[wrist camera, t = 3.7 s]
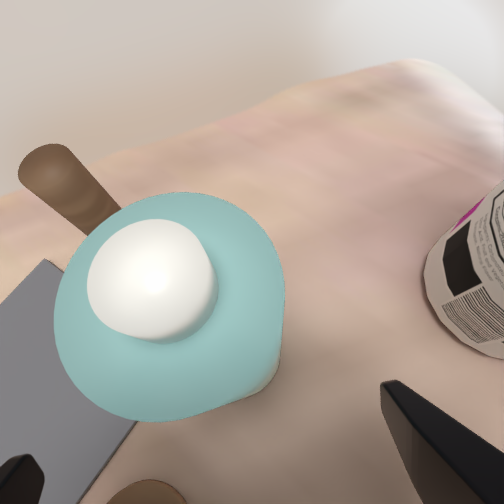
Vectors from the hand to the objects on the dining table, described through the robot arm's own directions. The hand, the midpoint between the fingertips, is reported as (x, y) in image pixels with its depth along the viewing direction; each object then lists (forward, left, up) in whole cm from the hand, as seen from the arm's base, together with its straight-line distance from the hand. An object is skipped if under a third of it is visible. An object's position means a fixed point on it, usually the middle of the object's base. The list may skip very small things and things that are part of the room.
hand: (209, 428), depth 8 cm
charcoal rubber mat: (-6, +11, -10) cm, 16 cm away
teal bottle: (+2, +2, -10) cm, 11 cm away
